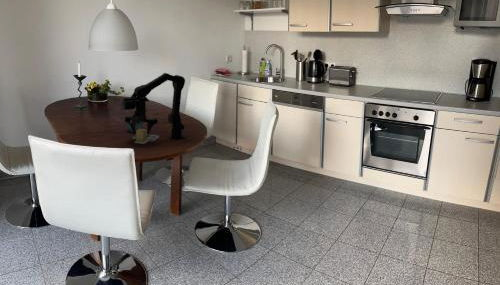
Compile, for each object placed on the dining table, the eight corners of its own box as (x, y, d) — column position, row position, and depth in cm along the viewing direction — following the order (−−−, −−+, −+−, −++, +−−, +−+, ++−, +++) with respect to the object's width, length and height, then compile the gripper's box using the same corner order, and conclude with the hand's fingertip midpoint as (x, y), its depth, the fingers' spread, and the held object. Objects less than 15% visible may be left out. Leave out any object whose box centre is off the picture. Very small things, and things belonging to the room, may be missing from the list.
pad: (148, 141, 228) (148, 140, 228) (144, 143, 222) (143, 142, 222) (139, 140, 229) (139, 139, 229) (134, 142, 223) (134, 141, 223)
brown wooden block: (146, 140, 227) (146, 129, 225) (143, 142, 223) (143, 131, 221) (140, 139, 228) (139, 128, 226) (136, 141, 224) (136, 130, 222)
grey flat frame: (159, 138, 235) (159, 135, 235) (153, 141, 228) (153, 138, 227) (138, 135, 238) (138, 133, 237) (132, 138, 230) (132, 136, 230)
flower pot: (136, 129, 252) (136, 116, 250) (144, 131, 247) (143, 118, 245) (125, 131, 246) (124, 118, 243) (132, 134, 241) (132, 120, 238)
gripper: (119, 109, 214) (120, 135, 218) (149, 112, 210) (149, 139, 215) (128, 106, 224) (129, 131, 229) (157, 109, 221) (158, 134, 225)
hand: (141, 133), depth 224 cm, fingers open, 9 cm apart
